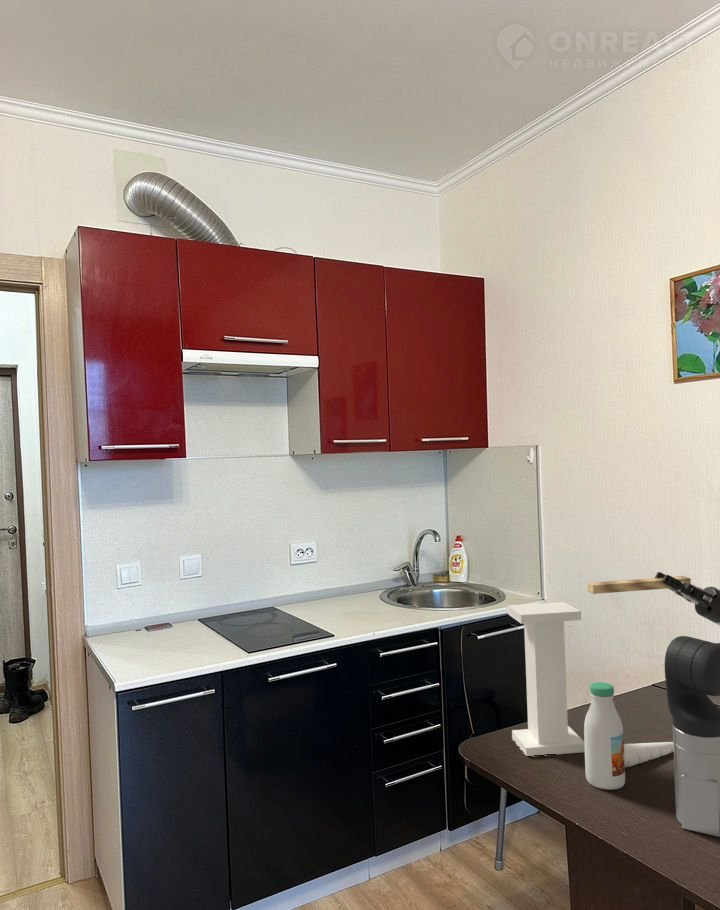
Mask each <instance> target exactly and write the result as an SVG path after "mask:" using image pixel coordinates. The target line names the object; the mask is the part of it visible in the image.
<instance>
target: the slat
mask: <svg viewBox="0 0 720 910" xmlns="http://www.w3.org/2000/svg"><path fill="white" fill-rule="evenodd" d="M673 577H674V578H675V579H677V580H679V581H682V582H683V581H684V582H685V583H686V584H692V582H691V581H692V579H691V577H687V576H684V575H682V576H681V575H679V576H673ZM680 583H681V582H680ZM586 586H587V592H589V593H590V594H593V595H595V594H596V595H597V594H609V593H610V594H611V593H623V592H625V593H626V592H637V591H638V592H639V591H651V590H652V591H653V590H664V589H665V590H667V589H668V588H672V587H670V586H668V585H666V584H664V583H663V578H655V577H654V578H653V577H652V578H651V577H650V578H637V579H626V580H625V579H624V580H609V581H596V582H587V585H586ZM668 590H669V589H668Z"/></svg>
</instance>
